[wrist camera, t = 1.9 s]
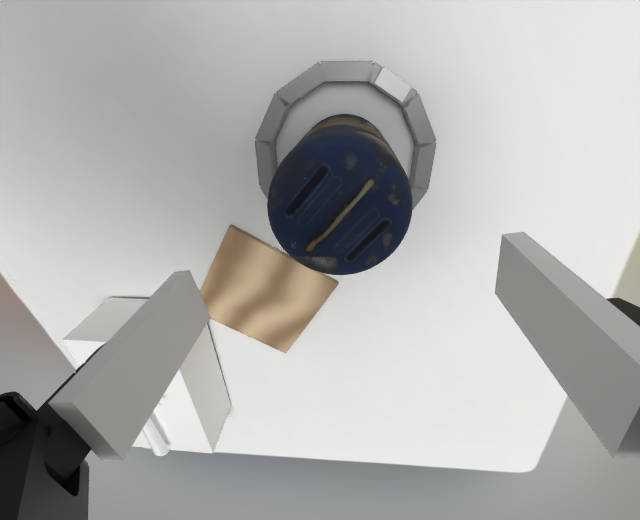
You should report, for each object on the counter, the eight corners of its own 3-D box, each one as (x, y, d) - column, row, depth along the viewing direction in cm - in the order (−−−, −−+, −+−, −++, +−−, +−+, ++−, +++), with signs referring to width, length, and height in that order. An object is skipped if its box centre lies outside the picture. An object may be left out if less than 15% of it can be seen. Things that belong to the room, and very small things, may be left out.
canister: (403, 170, 33) (451, 244, 18) (333, 216, 37) (322, 312, 21) (355, 91, 30) (362, 95, 14) (283, 150, 33) (225, 205, 18)
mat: (193, 307, 46) (191, 309, 45) (231, 224, 38) (229, 226, 38) (286, 350, 49) (285, 353, 48) (338, 281, 41) (338, 284, 41)
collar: (238, 187, 36) (228, 196, 33) (311, 20, 27) (307, 11, 24) (365, 258, 39) (366, 272, 36) (465, 129, 31) (477, 133, 28)
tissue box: (200, 301, 44) (159, 360, 35) (231, 405, 57) (207, 468, 48) (109, 297, 46) (46, 353, 36) (159, 399, 58) (122, 460, 49)
